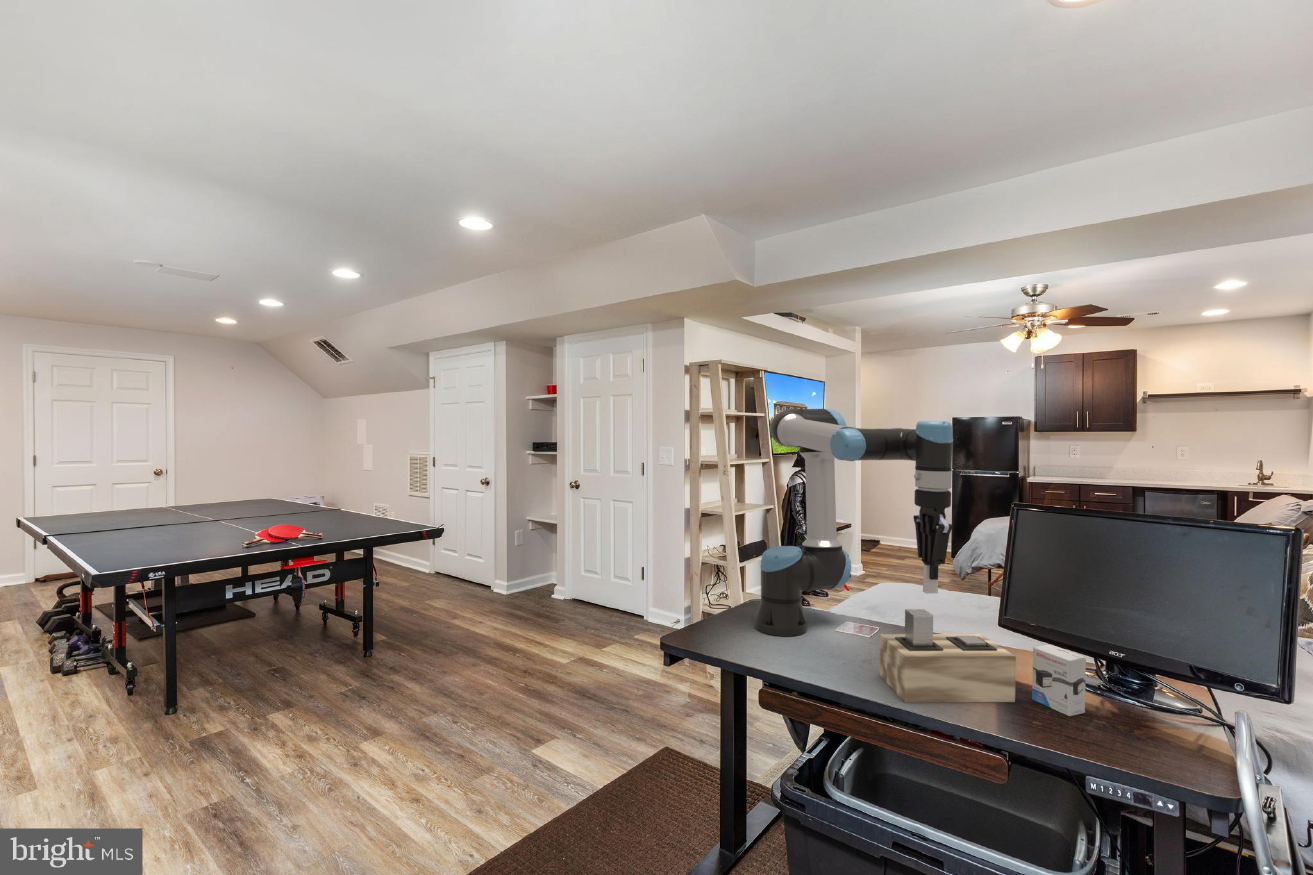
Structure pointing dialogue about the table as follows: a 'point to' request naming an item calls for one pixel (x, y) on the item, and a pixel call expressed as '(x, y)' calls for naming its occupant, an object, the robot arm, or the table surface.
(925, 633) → the peg
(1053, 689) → the ink box
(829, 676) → the table surface
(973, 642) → the peg
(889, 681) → the socket block
